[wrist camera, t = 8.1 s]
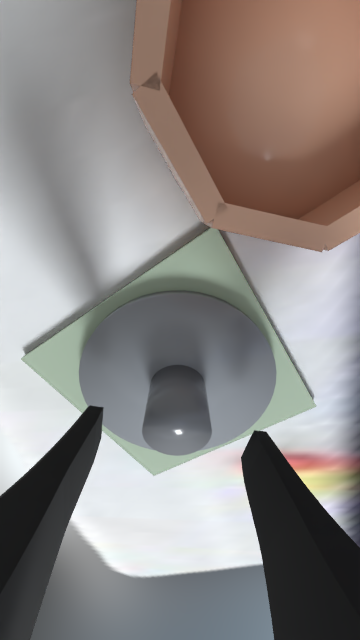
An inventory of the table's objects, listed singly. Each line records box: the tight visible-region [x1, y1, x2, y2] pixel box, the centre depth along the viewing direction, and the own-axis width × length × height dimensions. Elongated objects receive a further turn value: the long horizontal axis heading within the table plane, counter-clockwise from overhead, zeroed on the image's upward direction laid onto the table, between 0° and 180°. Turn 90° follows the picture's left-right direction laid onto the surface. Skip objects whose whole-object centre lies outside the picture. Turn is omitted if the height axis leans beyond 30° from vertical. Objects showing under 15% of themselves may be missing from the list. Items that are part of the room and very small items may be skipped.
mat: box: [21, 227, 316, 476], centre depth 14 cm, size 13×13×1 cm
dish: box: [130, 0, 360, 252], centre depth 7 cm, size 10×10×3 cm
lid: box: [79, 290, 277, 456], centre depth 12 cm, size 11×11×4 cm
